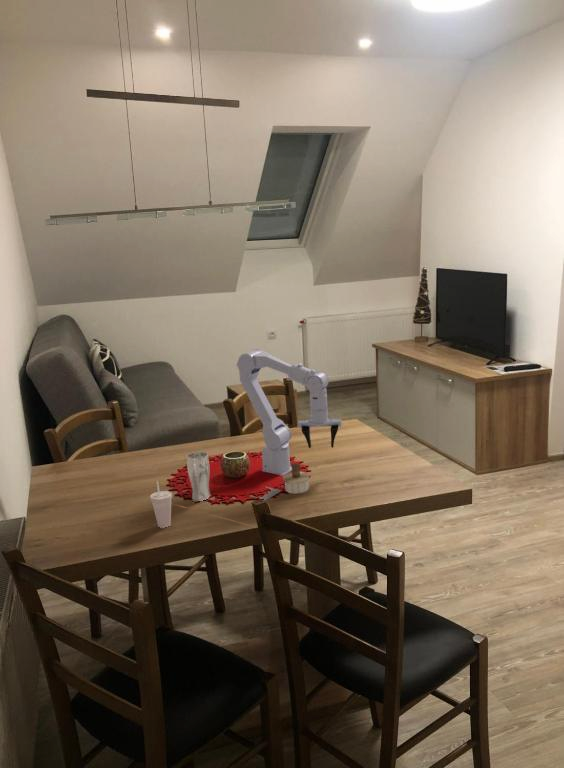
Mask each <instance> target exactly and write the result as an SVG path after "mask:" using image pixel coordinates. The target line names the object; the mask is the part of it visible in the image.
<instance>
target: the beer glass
mask: <svg viewBox="0 0 564 768" xmlns="http://www.w3.org/2000/svg"><path fill="white" fill-rule="evenodd" d="M186 460H187V461H186V465H187V466H186V467H187V474H188V477H189V481H190V484H191V489H192V496H191V499H193V500H194V502H198V501H200V502H204V501H203V500H206V499H208V498H209V497H210V496H211V497H212V495H211V491H210V486H209V484H210V460H209V455H208V453H207V452H205V451H192V452H191V453H188V454H187V455H186ZM193 500H192V501H193ZM208 500H209V499H208ZM206 501H207V500H206Z"/></svg>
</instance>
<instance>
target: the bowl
mask: <svg viewBox="0 0 564 768" xmlns="http://www.w3.org/2000/svg"><path fill="white" fill-rule="evenodd" d="M309 489H310V487H309V480H308V481H306V482H303V483H298V484H291V483H287V482H285V481H284V490H285V492H287V493H289V494H296V495H297V494H303V493H305V492H308V491H309Z"/></svg>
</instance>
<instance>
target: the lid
mask: <svg viewBox="0 0 564 768" xmlns="http://www.w3.org/2000/svg"><path fill="white" fill-rule="evenodd" d="M290 466H292V471H290V472H288V473H286V474H284V475H282V480H283V482H284V483H285V482H287V483H291V484H298V483H303V482H306V481H308V482H309V480H310V474H309V473H308V472H306V471H305V472H304V471H301V468H300V463H297V462H295V463H291V464H290Z"/></svg>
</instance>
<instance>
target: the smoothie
mask: <svg viewBox="0 0 564 768" xmlns="http://www.w3.org/2000/svg"><path fill="white" fill-rule="evenodd" d="M156 489H157V491H156V492H153V493H152V494H150V496H149V497H150V498H149V500H150V501H151V503H152V507H153V511H154V516H155V519H156V523H157V527H158V528H159V527H160V529H166V528H165V527H167V528H169V527H171V525H172V498H173V493H172V492H171V491H169V490H160V485H159V480H157V481H156ZM168 526H169V527H168Z"/></svg>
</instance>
